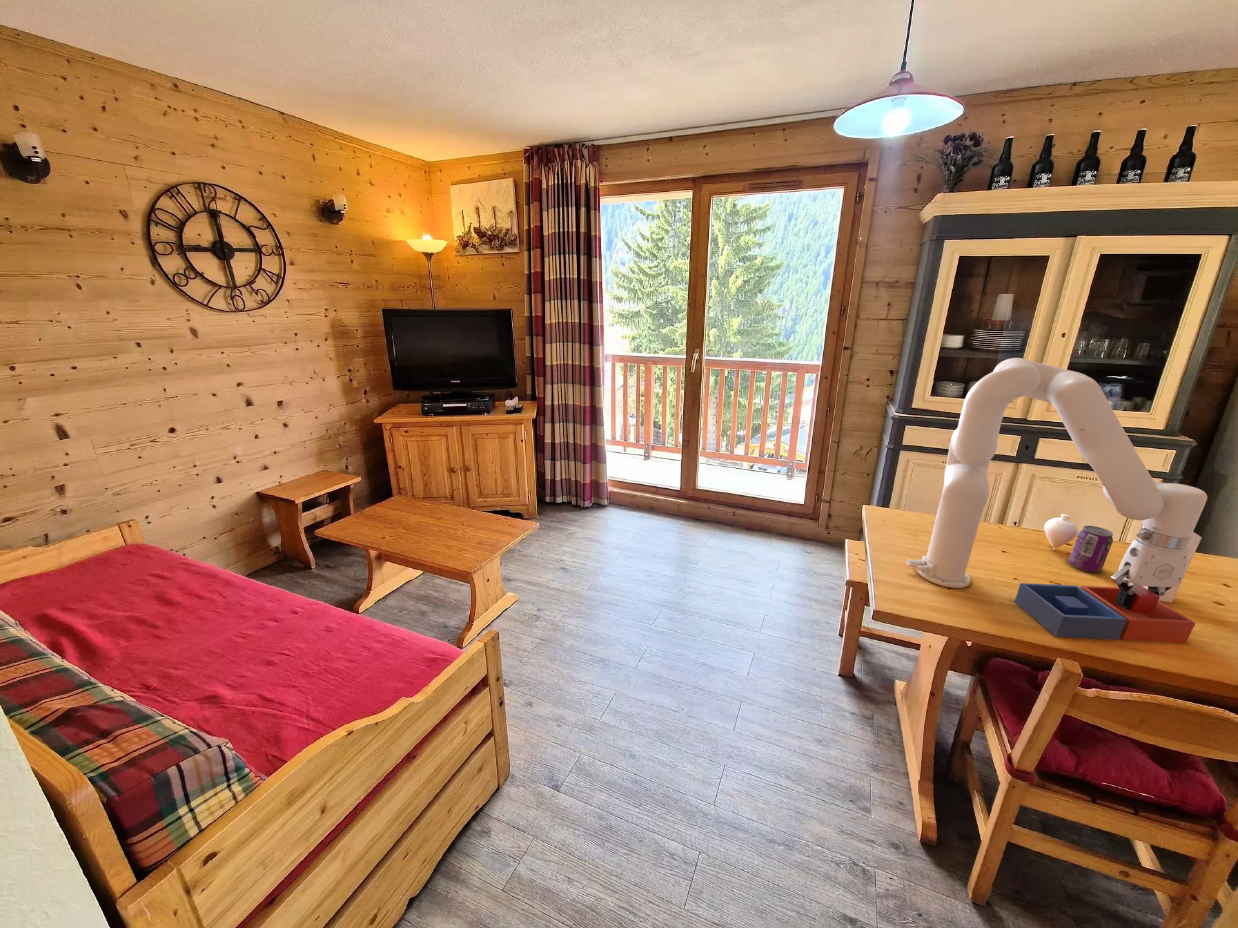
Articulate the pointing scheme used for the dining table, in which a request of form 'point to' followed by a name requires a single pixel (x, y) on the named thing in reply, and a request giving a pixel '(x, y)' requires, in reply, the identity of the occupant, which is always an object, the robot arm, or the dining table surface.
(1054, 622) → the blue bin
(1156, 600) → the red block
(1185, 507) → the robot arm
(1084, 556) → the beverage can
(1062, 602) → the blue block
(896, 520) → the dining table surface
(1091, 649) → the dining table surface
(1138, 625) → the red bin
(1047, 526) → the spinning top
